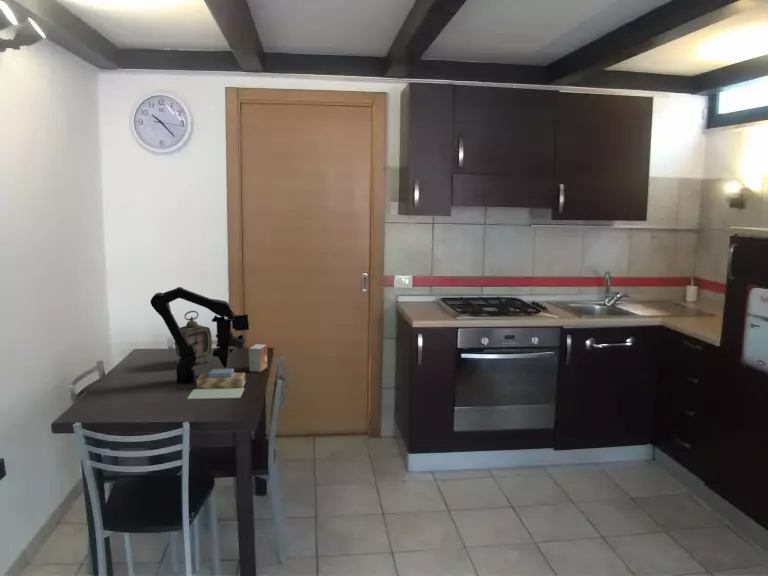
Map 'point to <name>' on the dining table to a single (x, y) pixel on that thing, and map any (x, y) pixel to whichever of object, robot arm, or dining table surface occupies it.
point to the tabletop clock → (197, 337)
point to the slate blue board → (221, 373)
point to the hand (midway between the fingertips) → (225, 367)
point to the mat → (216, 393)
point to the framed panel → (220, 381)
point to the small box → (258, 357)
